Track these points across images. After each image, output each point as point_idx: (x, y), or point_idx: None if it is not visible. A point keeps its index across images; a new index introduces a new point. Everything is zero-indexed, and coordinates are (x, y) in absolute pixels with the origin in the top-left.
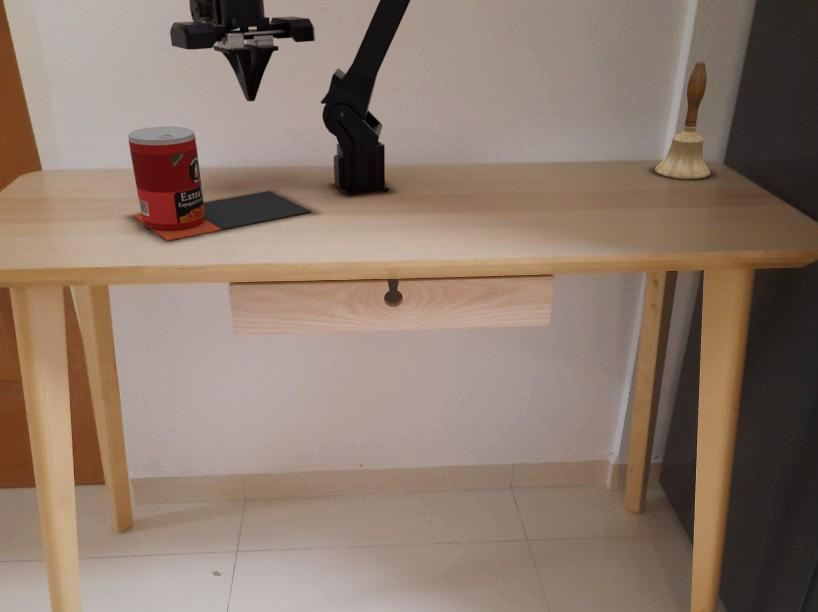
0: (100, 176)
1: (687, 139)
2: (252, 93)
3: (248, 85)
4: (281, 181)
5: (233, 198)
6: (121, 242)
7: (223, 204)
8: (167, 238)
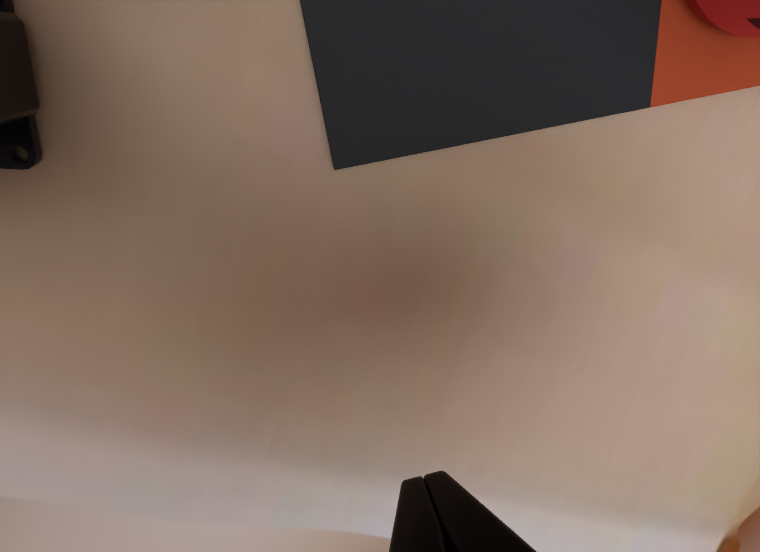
0: (662, 473)
1: None
2: (439, 509)
3: (508, 550)
4: (251, 293)
5: (480, 128)
6: None
7: (538, 64)
8: None
